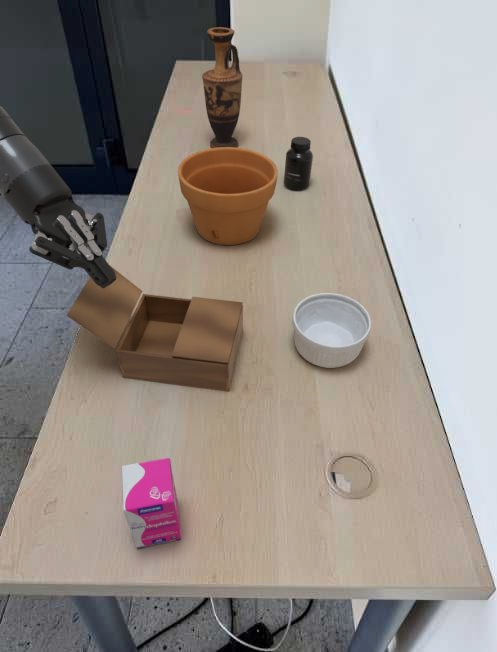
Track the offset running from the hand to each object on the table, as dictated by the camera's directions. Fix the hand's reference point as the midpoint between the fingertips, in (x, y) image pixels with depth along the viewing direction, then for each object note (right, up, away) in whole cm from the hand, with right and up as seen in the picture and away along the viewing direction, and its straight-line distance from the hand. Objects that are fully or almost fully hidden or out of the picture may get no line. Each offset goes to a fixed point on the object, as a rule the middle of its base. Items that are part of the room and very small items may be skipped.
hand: (110, 283), depth 67 cm
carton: (+8, -11, +18) cm, 22 cm away
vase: (+12, +48, +77) cm, 91 cm away
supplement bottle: (+32, +31, +61) cm, 75 cm away
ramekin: (+33, -10, +20) cm, 40 cm away
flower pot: (+15, +17, +46) cm, 51 cm away
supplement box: (+7, -32, -3) cm, 33 cm away
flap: (-4, -2, +12) cm, 12 cm away
